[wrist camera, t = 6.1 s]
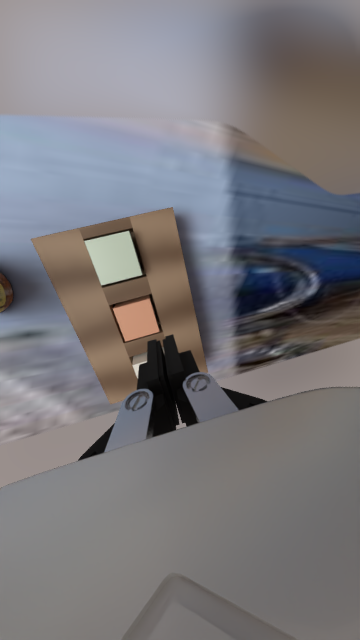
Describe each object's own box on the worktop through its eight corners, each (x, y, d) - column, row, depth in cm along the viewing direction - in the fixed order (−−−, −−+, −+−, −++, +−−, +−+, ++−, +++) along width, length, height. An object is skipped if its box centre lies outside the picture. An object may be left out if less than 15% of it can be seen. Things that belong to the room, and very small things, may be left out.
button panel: (50, 242, 21) (30, 238, 17) (167, 215, 22) (172, 207, 19) (114, 385, 28) (110, 404, 25) (199, 358, 30) (208, 372, 26)
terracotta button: (116, 302, 23) (112, 308, 20) (148, 293, 24) (149, 298, 21) (127, 332, 25) (125, 341, 22) (157, 323, 25) (159, 331, 22)
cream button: (133, 353, 25) (132, 365, 22) (163, 344, 25) (166, 355, 22) (142, 378, 26) (142, 392, 23) (171, 369, 27) (174, 382, 24)
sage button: (92, 243, 20) (84, 241, 17) (130, 234, 20) (128, 230, 17) (106, 281, 21) (101, 285, 18) (142, 272, 22) (142, 274, 19)
